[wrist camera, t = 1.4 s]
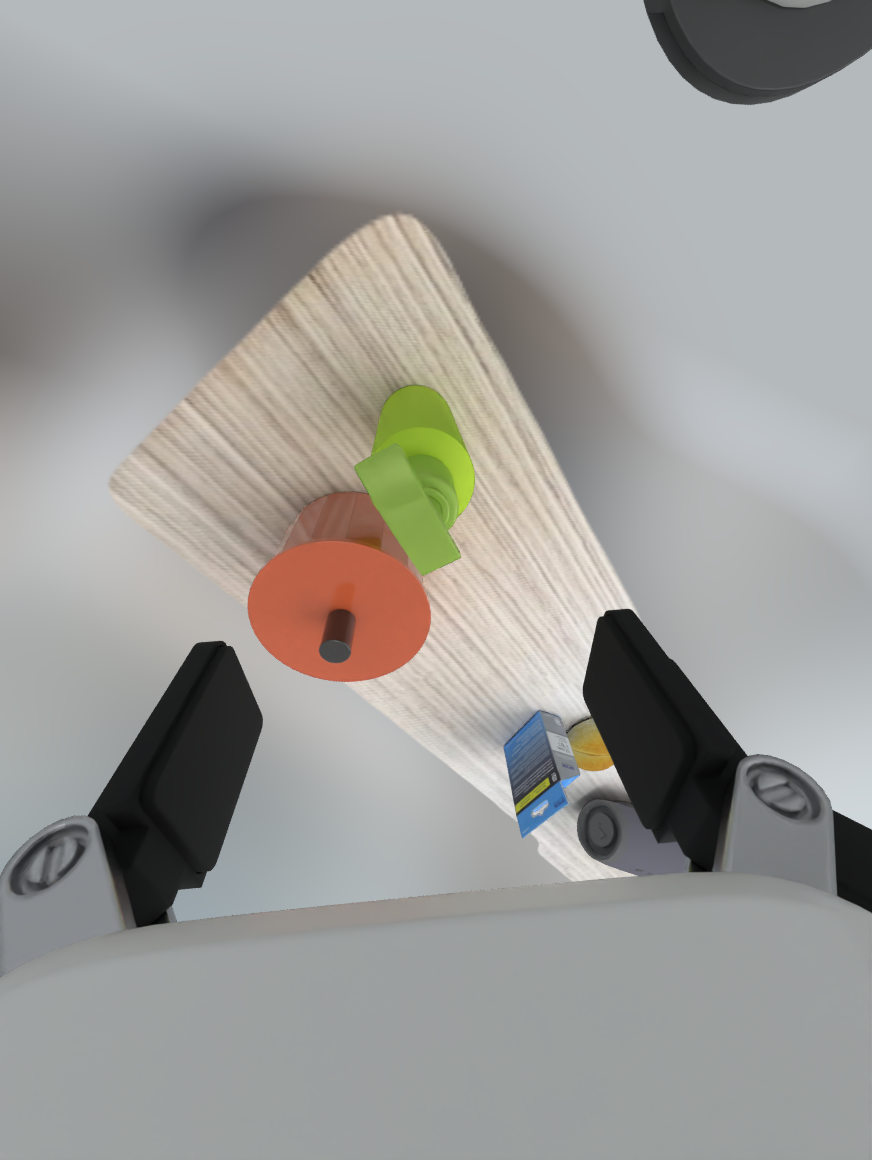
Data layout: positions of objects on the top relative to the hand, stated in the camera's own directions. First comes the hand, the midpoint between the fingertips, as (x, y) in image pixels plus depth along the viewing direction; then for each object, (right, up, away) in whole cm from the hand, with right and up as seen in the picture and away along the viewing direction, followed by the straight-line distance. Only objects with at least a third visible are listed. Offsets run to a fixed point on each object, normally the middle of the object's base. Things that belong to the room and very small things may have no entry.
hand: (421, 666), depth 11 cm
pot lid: (-7, -1, +21) cm, 22 cm away
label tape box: (+13, -19, +46) cm, 51 cm away
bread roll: (+22, -20, +47) cm, 56 cm away
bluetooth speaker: (+34, -37, +60) cm, 79 cm away
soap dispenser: (-1, +15, +22) cm, 27 cm away
